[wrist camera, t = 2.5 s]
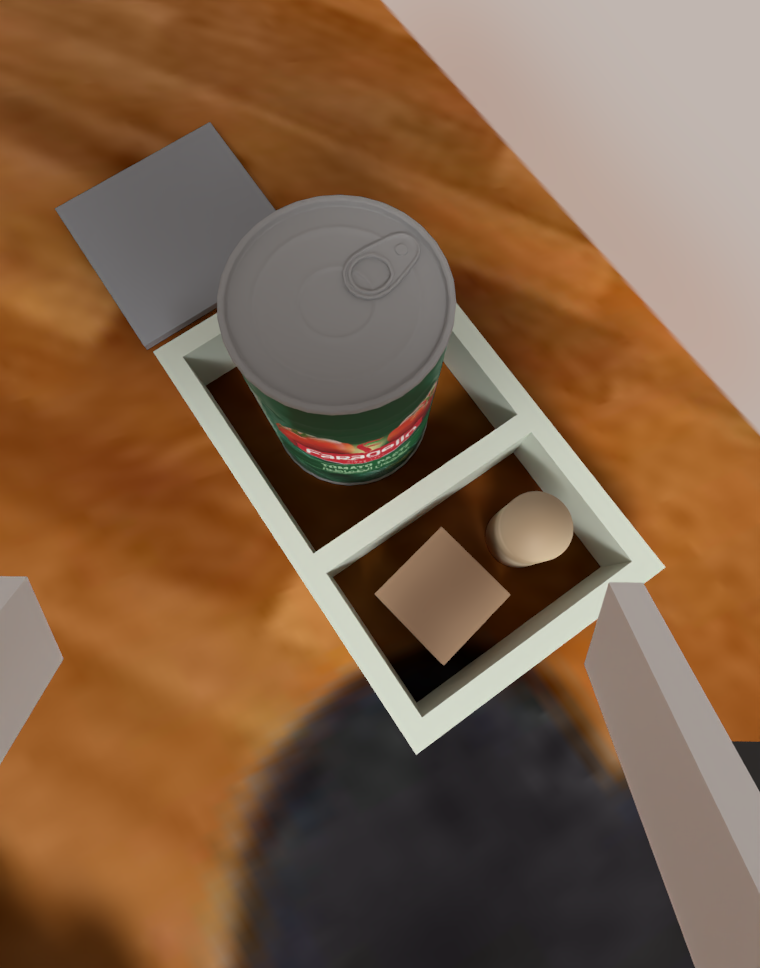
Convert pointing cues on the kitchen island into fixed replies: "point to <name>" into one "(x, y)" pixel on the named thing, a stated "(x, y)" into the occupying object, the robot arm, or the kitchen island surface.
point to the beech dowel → (529, 530)
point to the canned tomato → (340, 331)
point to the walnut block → (442, 595)
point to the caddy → (516, 431)
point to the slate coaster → (167, 230)
